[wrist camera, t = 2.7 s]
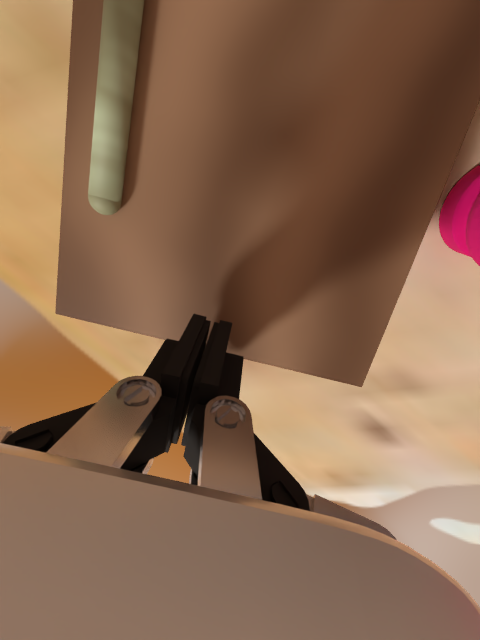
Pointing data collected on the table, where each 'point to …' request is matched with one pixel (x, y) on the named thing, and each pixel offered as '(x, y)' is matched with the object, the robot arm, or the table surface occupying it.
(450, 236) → the pepper mill
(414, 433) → the table surface
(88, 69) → the board
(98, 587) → the robot arm
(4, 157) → the table surface
